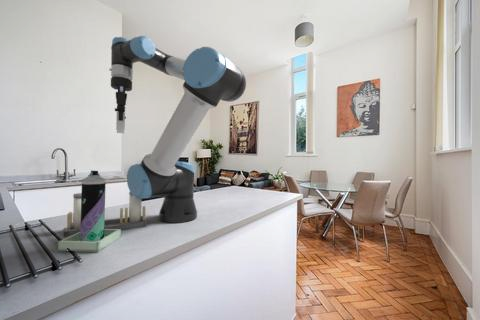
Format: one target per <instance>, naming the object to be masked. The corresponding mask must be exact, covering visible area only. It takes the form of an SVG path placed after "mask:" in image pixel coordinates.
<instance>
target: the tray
mask: <svg viewBox="0 0 480 320" xmlns="http://www.w3.org/2000/svg"><path fill="white" fill-rule="evenodd" d="M121 237H122V230H121V229H104V238H103V239H101V240H100V241H98V242H89V241H80V232H78V233H76V234H74V235H72V236H66V237H65V238H63V239H61V240H59V241H58V246H57V249H58V250H57V251H58V252H66V251H67V248H71V249H72V250H73V251H75V252H74V253H99V252H101V251H103V250H104V249H105V248H107V247H108V246H110V245H111V244H113V243H114V242H115V243H116V241H118V240H119V239H121Z"/></svg>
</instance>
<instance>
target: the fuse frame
mask: <svg viewBox="0 0 480 320" xmlns="http://www.w3.org/2000/svg"><path fill="white" fill-rule="evenodd" d="M128 208H129V207H124V208H123V207H121V208H119V209H120V210H119V211H120V212H119V217H118V218H110V219H108V218H107V219H104V229H121V231H122V230H129V229H139V228H146V227H147V225H148V223H147V219H146V210H147V209H146V206H142V208H141V222H135V223H129V209H128ZM66 218H67V221H66V224H67V225H66V228H65V230H64V231H63V238H64V237H65V238H67V237H70V236H72V235H74V234H76V233H78V232H80V229H73V212H72V211H71V212H70V211H69V212H68V213H67V217H66Z"/></svg>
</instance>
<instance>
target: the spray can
mask: <svg viewBox="0 0 480 320" xmlns="http://www.w3.org/2000/svg"><path fill="white" fill-rule="evenodd" d="M81 193H82V194H81V228H80V241H89V242H98V241H100V240H101V239H103V238H104V226H105V225H104V220H106V219H105V218H106V217H105V216H106V215H105V213H106V212H105V211H106V207H105V206H106V178H104V177H103V176H101V175H100V173H99V170H90V173H89V174H88V175H87V176H86V177H84V178H83V179H82V182H81Z"/></svg>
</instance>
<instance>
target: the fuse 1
mask: <svg viewBox="0 0 480 320" xmlns="http://www.w3.org/2000/svg"><path fill="white" fill-rule="evenodd" d="M81 194H82V192H77V193H73V195H72V196H73V197H72V198H73V207H72V208H73V209H72V211H73V212H72V223H73V229H80V228H81Z"/></svg>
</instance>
